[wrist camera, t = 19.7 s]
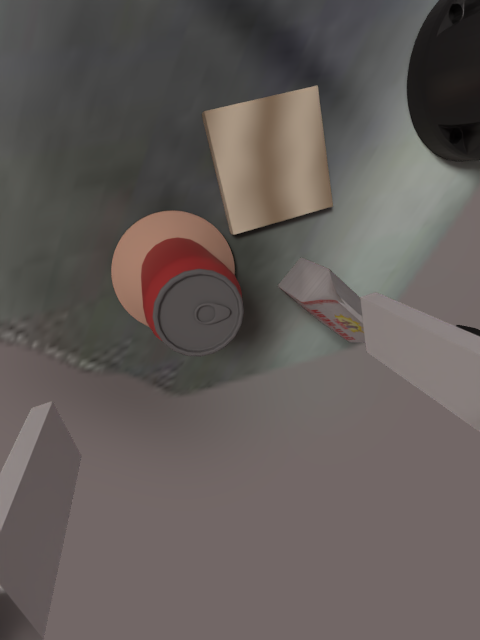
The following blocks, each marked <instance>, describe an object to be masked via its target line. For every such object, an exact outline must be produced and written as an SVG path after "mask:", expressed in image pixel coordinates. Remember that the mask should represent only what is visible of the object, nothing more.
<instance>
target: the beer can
mask: <svg viewBox="0 0 480 640" xmlns="http://www.w3.org/2000/svg"><path fill="white" fill-rule="evenodd" d="M141 286H142V301H143V310H144V314H145V318H146V322H147V324H148V325H149V327H150V328H151V330H152V331H153V333H154V334H155V336H156V337H157V338H159V339H160V340H161V341H163V343H164V344H166V345H167V346H168V347H169V348H171V349H172V350H173V351H175V352H178V353H181V354H184V355H186V356H204V355H208V354H212V353H215V352H217V351H219V350H220V349H222V348H224V347H226V346H227V345H228V344H229V343H230V342H231V341H232V339H233V338H234V337H235V336H236V334H237V332H238V331H239V329H240V327H241V325H242V320H243V314H244V308H243V300H242V293H241V287H240V285H239V283H238V281H237V279H236V277H235V275H234V274H233V273H232V272H231V271H230V270H229V269H228V268H227V267H226V266H225V265H224V264H223V263H222V262H221V261H220V260H219V259H217V258H216V257H215V256H214V255H213V254H211V253H210V252H209V251H208V250H207V249H205V248H204V247H203V246H202V245H201V244H199V243H197V242H195V241H193V240H191V239H186V238H179V237H177V238H171V239H166V240H164V241H162V242H160V243H158V244H156V245H155V246H154V247H153V248H152V249H151V250H150V251H149V252H148V253H147V255H146V257H145V259H144V261H143V264H142V269H141Z"/></svg>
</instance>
